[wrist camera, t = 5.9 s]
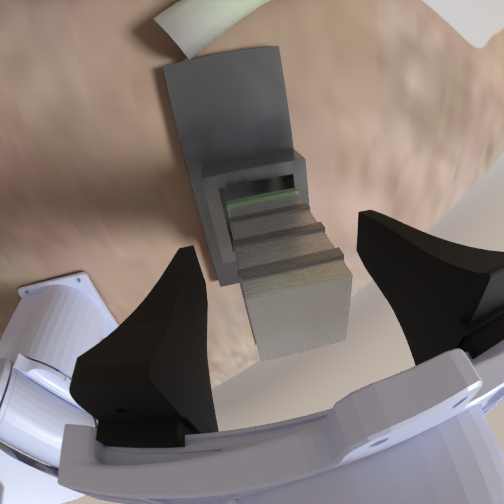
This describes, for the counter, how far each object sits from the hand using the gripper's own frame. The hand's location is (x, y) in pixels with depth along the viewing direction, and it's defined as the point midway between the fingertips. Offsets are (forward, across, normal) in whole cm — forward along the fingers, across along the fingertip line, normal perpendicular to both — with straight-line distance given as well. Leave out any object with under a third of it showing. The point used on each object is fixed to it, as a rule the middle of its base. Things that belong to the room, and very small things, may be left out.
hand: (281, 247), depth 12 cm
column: (+5, 0, +1) cm, 5 cm away
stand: (+9, +1, 0) cm, 9 cm away
